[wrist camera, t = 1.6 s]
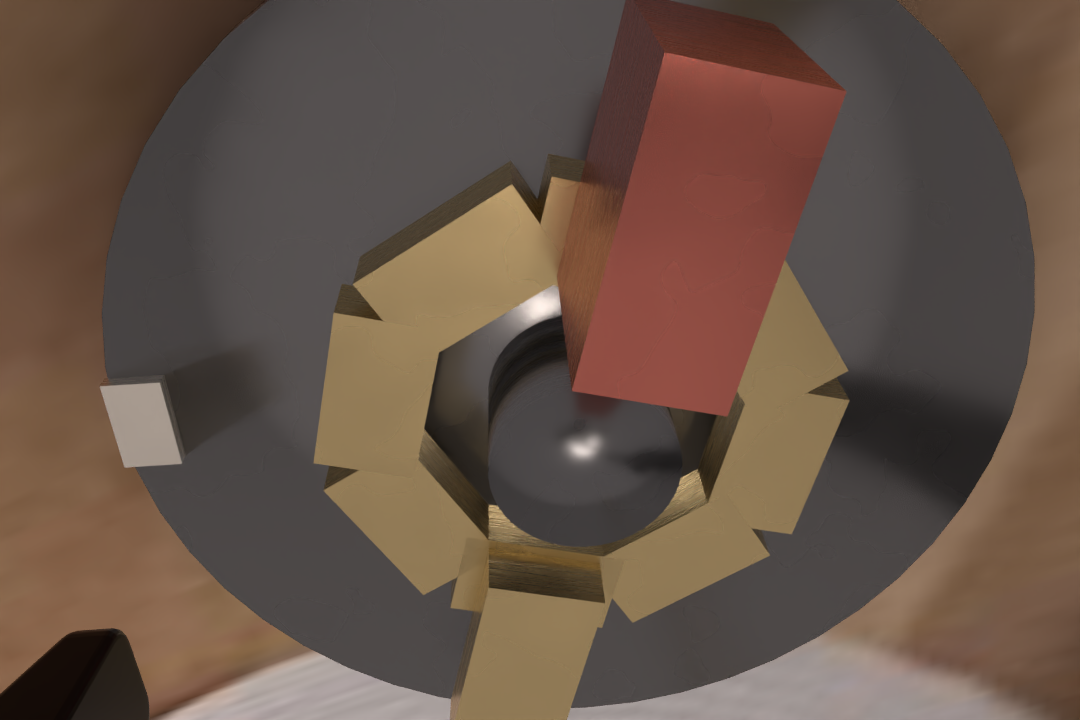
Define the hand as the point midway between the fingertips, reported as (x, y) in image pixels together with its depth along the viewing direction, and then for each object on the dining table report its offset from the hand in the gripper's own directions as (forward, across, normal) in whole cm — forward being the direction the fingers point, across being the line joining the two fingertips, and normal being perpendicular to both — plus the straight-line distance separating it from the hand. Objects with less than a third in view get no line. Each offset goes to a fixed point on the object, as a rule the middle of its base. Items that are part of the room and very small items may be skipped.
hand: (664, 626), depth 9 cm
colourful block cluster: (+11, 0, +5) cm, 12 cm away
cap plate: (+13, 0, +5) cm, 14 cm away
